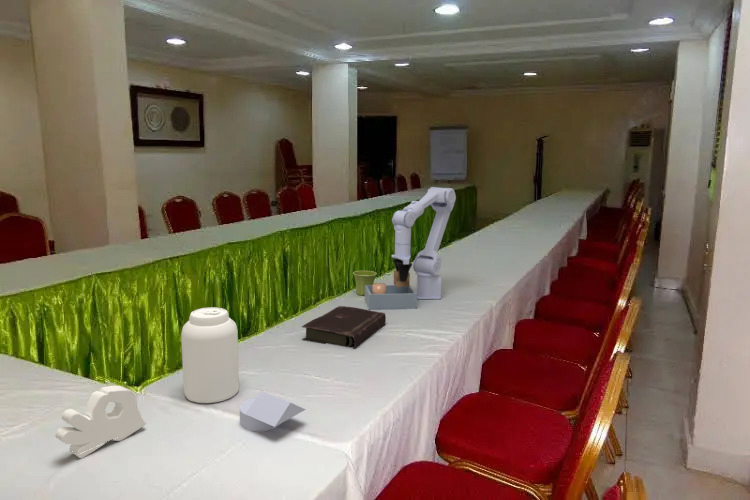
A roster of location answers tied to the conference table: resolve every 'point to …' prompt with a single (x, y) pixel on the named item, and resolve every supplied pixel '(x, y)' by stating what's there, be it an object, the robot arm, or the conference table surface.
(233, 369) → the can
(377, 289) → the terracotta cylinder
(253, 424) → the wedge on round base
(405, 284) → the walnut cube
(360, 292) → the plant pot
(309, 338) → the diary
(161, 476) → the conference table surface
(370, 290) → the box
